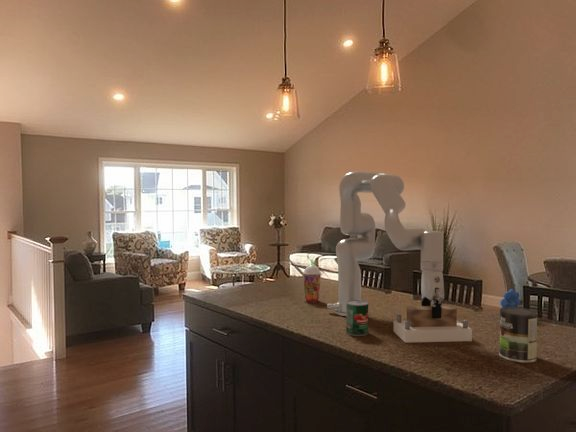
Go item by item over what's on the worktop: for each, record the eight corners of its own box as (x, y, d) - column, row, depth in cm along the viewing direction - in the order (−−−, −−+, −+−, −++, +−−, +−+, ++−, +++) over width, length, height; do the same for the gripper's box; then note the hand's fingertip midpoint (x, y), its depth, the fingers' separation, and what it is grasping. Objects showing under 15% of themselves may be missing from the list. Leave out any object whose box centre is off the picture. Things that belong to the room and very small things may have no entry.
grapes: (508, 314, 192) (509, 286, 191) (524, 318, 186) (524, 288, 186) (491, 318, 186) (491, 288, 185) (506, 322, 180) (506, 291, 180)
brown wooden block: (450, 322, 164) (450, 305, 164) (456, 326, 159) (456, 309, 159) (406, 323, 163) (406, 306, 163) (411, 327, 158) (411, 309, 158)
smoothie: (300, 302, 217) (300, 259, 216) (306, 298, 224) (306, 257, 224) (317, 303, 213) (317, 260, 213) (323, 300, 221) (323, 258, 221)
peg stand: (405, 342, 154) (405, 323, 154) (393, 331, 167) (393, 313, 167) (471, 341, 156) (472, 321, 155) (455, 330, 169) (455, 312, 168)
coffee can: (511, 363, 134) (511, 315, 134) (492, 352, 144) (493, 307, 144) (544, 362, 135) (545, 314, 134) (523, 351, 145) (524, 306, 145)
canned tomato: (363, 337, 160) (363, 305, 160) (342, 333, 164) (342, 303, 164) (371, 331, 167) (371, 301, 167) (351, 328, 171) (351, 299, 171)
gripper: (452, 269, 152) (451, 321, 153) (432, 262, 169) (432, 308, 170) (430, 269, 152) (429, 321, 152) (412, 262, 169) (412, 309, 170)
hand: (431, 314), depth 161 cm, fingers open, 9 cm apart
